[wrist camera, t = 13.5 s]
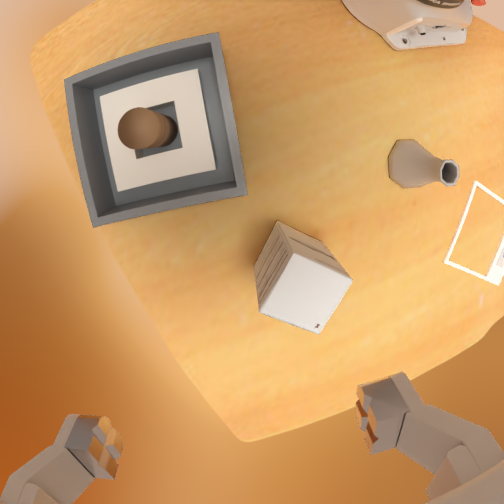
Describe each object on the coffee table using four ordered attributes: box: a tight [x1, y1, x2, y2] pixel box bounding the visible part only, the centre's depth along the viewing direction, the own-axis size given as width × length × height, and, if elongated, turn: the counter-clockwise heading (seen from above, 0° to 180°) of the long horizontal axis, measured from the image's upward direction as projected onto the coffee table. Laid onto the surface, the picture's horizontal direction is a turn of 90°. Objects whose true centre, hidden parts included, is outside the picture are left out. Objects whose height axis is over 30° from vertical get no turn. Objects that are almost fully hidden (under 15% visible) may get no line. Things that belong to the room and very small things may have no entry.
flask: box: [388, 140, 459, 188], centre depth 34 cm, size 7×7×10 cm
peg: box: [118, 107, 178, 150], centre depth 30 cm, size 4×4×10 cm
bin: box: [64, 32, 248, 228], centre depth 33 cm, size 18×18×7 cm
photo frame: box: [443, 180, 504, 286], centre depth 43 cm, size 15×1×18 cm
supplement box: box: [254, 221, 353, 334], centre depth 37 cm, size 7×7×13 cm
